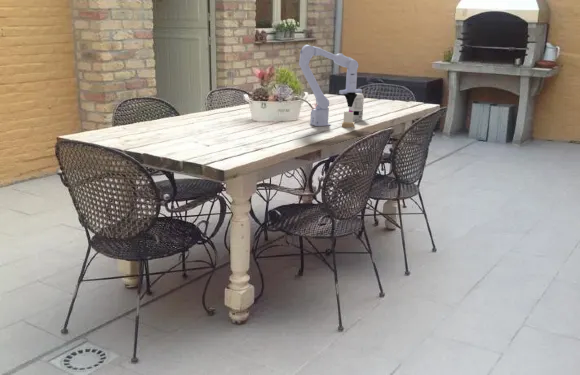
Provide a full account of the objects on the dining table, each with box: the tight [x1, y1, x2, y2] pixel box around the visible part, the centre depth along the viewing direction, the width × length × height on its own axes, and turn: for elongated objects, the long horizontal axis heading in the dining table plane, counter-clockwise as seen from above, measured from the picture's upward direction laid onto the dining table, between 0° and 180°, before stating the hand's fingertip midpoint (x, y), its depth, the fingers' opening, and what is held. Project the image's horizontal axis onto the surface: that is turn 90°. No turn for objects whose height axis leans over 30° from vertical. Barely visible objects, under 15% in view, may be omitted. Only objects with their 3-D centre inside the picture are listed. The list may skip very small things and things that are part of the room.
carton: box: [341, 121, 355, 128], centre depth 341 cm, size 7×6×2 cm
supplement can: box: [348, 92, 365, 121], centre depth 362 cm, size 8×8×15 cm
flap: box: [342, 110, 355, 124], centre depth 338 cm, size 3×6×6 cm, turn 81°
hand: (349, 106), depth 342 cm, fingers closed
